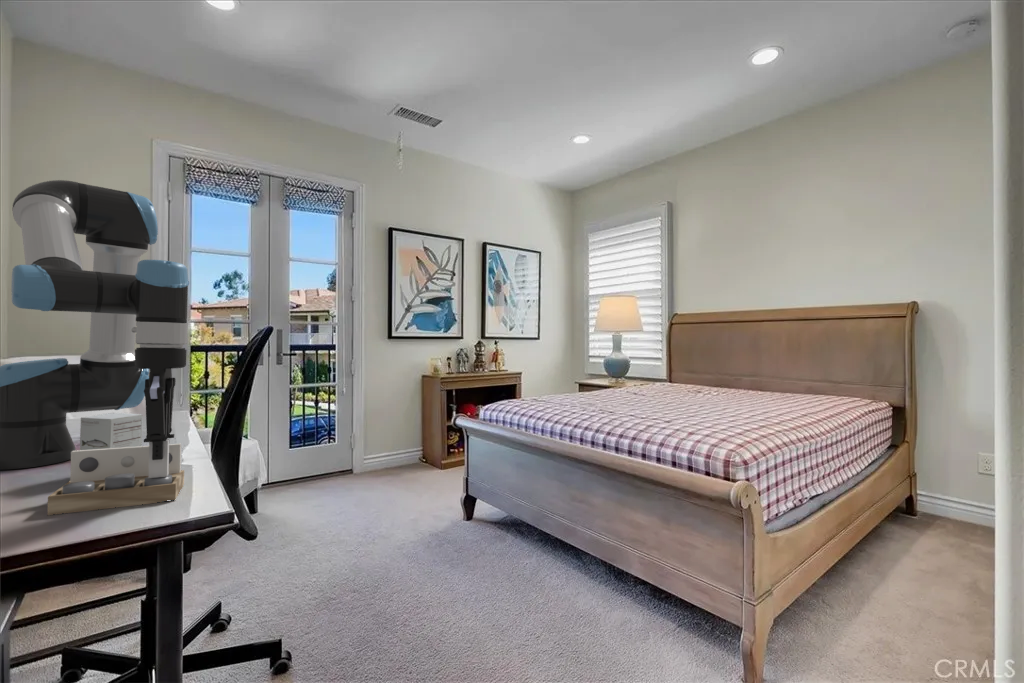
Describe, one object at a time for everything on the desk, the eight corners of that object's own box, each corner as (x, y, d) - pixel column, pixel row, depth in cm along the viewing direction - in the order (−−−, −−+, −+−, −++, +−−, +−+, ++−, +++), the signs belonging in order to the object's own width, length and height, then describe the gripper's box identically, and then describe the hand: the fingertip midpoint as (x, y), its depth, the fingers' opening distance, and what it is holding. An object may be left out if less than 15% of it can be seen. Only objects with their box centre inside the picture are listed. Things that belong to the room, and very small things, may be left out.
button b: (108, 489, 83) (108, 474, 83) (136, 486, 85) (137, 472, 85) (101, 495, 80) (101, 481, 80) (131, 492, 82) (131, 478, 82)
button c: (146, 489, 86) (147, 475, 86) (173, 486, 88) (173, 473, 88) (141, 495, 82) (142, 481, 82) (169, 492, 84) (169, 478, 84)
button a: (67, 497, 81) (67, 482, 81) (97, 494, 83) (97, 480, 83) (58, 504, 77) (58, 489, 77) (89, 501, 79) (90, 486, 79)
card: (72, 481, 84) (73, 450, 84) (180, 471, 91) (181, 443, 91) (69, 483, 83) (70, 452, 83) (179, 473, 90) (180, 444, 90)
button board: (70, 496, 85) (70, 480, 85) (184, 485, 93) (184, 469, 93) (47, 515, 76) (47, 496, 76) (175, 500, 84) (175, 484, 84)
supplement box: (77, 479, 95) (78, 417, 95) (113, 469, 102) (114, 411, 102) (108, 481, 94) (110, 418, 94) (142, 471, 101) (144, 413, 101)
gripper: (143, 345, 89) (141, 469, 89) (125, 346, 77) (122, 489, 77) (191, 346, 93) (188, 465, 92) (180, 347, 81) (177, 483, 81)
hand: (158, 476), depth 85 cm, fingers closed
